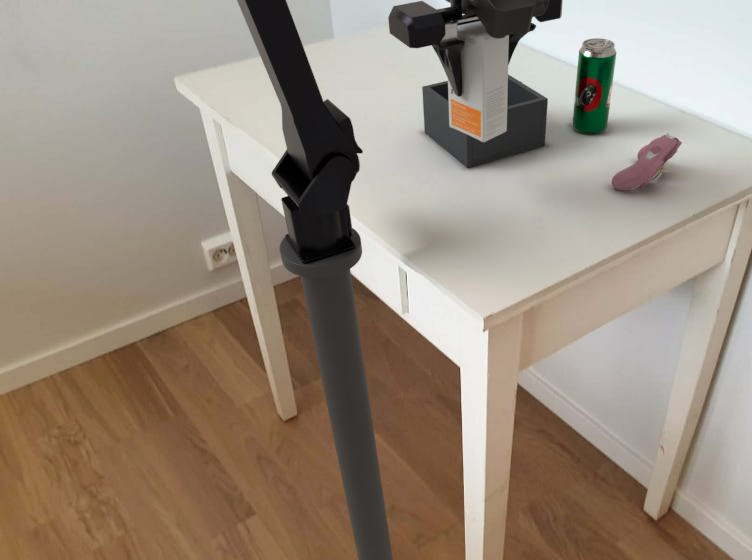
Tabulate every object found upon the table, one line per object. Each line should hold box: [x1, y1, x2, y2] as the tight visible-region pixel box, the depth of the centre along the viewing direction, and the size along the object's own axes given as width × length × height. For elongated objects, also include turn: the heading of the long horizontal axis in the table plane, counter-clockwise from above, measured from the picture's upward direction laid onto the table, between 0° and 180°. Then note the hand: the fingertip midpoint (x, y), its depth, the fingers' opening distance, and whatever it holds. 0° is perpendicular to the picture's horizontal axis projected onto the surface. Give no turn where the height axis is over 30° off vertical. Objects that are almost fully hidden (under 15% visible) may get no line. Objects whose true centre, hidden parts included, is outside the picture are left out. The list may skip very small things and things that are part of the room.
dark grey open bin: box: [421, 73, 549, 169], centre depth 102 cm, size 13×13×7 cm
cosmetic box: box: [447, 21, 509, 142], centre depth 84 cm, size 6×4×12 cm
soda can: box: [571, 37, 617, 135], centre depth 102 cm, size 5×5×12 cm
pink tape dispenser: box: [611, 132, 683, 191], centre depth 93 cm, size 10×5×7 cm, turn 147°
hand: (477, 90), depth 84 cm, fingers closed on cosmetic box, 5 cm apart
